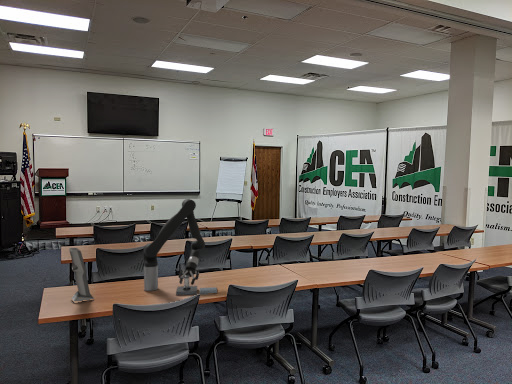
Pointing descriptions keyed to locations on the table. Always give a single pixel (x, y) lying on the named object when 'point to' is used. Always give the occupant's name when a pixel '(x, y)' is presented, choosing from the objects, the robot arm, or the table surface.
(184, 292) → the chuck plate
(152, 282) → the robot arm
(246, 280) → the table surface
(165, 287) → the table surface
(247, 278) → the table surface
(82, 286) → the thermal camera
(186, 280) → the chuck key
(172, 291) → the table surface
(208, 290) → the rubber mat
